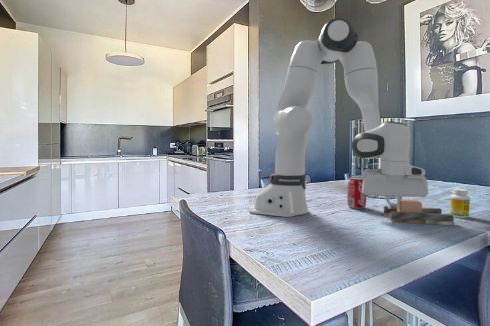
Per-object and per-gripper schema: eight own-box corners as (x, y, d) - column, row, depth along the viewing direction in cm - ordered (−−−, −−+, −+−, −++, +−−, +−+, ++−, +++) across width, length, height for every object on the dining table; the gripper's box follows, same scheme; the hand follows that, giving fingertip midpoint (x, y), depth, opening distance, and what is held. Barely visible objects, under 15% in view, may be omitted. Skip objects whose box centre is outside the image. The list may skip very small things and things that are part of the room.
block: (401, 217, 95) (402, 202, 95) (396, 213, 100) (397, 199, 100) (421, 218, 94) (422, 203, 93) (415, 214, 99) (416, 199, 98)
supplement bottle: (453, 213, 103) (455, 187, 103) (471, 216, 99) (473, 189, 98) (447, 215, 100) (448, 189, 100) (465, 219, 96) (466, 191, 95)
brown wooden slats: (391, 221, 93) (392, 212, 93) (383, 213, 104) (383, 205, 104) (454, 225, 89) (454, 216, 89) (438, 216, 100) (439, 208, 100)
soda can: (367, 206, 115) (368, 177, 114) (364, 210, 109) (365, 179, 108) (349, 204, 118) (350, 176, 117) (345, 208, 112) (346, 178, 111)
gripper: (363, 169, 96) (362, 209, 97) (430, 170, 91) (429, 212, 92) (360, 167, 102) (359, 205, 103) (423, 168, 97) (421, 207, 98)
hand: (392, 208), depth 98 cm, fingers closed
